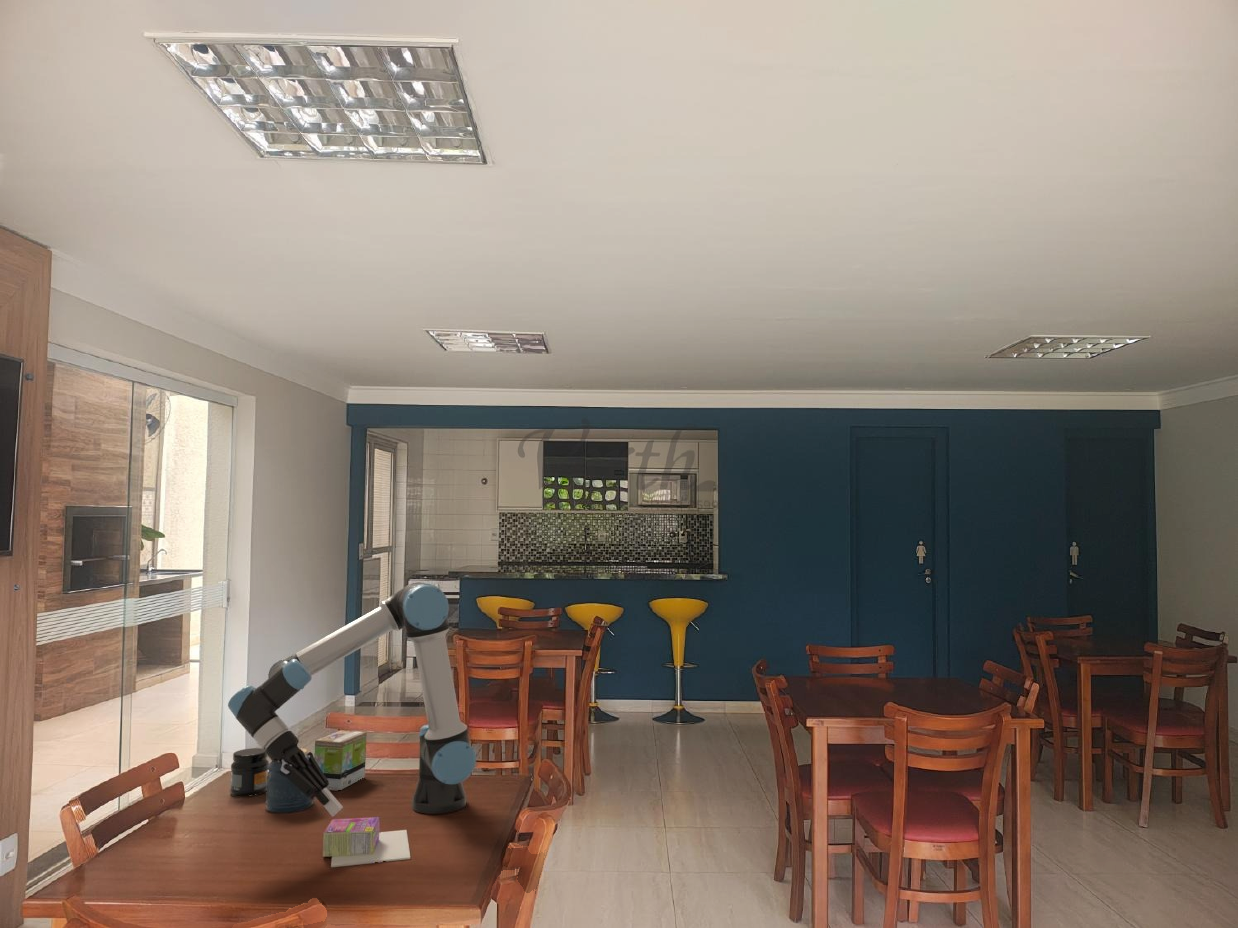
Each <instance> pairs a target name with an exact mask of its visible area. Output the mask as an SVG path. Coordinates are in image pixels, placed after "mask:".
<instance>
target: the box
mask: <svg viewBox="0 0 1238 928" xmlns="http://www.w3.org/2000/svg"><path fill="white" fill-rule="evenodd" d="M380 828H381V827H380V817H378V816H375V817H357V818H356V817H355V818H353V817H352V818H338V819H337V818H333V819H332V820H331V821H330V822H329V824H328V825H327V827H326V828H325V830H324V831H323V833H322V857H325V858H326V857H332V856H351V855H372V853H373V851H374V849H375V847H376V844H377V842H378V840H379V832H380Z"/></svg>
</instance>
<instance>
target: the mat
mask: <svg viewBox="0 0 1238 928" xmlns="http://www.w3.org/2000/svg"><path fill="white" fill-rule="evenodd" d="M410 851H411V850H410V845H409V837H408V831H407V829H401V830H391V831H390V830H389V831H381V832H380V831H379V840H378V842H377V844H376V847H375V849H374V851H373V853H372V855H351V856H331V862H330V864H331V865H330V867H331V868H340V867H349V866H357V865H358V866H359V865H367V864H375V862H378V863H384V862H383V861H386V862H394V861H402V860H403V861H404V860H405V861H406V860H411V852H410ZM386 862H385V863H386Z"/></svg>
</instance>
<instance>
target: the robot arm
mask: <svg viewBox="0 0 1238 928" xmlns="http://www.w3.org/2000/svg"><path fill="white" fill-rule="evenodd" d="M449 607H450V605H449V601H448V598H447V596H446V593H444V592H443V591H442V589H440V588H439V587H437V586H436V585H433V584H430V583H424V582H412V583H410V584H408V585H406V586H404V587H402V588H401V589H400V590H398V591H397V592H395V593H393V594H392V595H390V596H388V597H387V598H385V599H383V600H381V602H380V605H379V606H378V607H376V608H375V609H373V610H371V611H369V612H367V613H365V614H364V615H362V616H361V617H359V618H357V619H355V620H353V621H351V622H349V623H348V624H345V625H344V626H342V627H341V628H338V629H336V631H334V632H332V633H330V634H328V635H326V636H324V637H322V638H321V639H319V640H318V641H317V640H316V641H315V642H314V643H312V644H310V645H308V646H307V647H305V648H303V649H300V650H299V651H298V652H295V653H294V654H292V655H291V656H288V657H287V658H285V659H281V660H278V661H276V662H275V663H273V664H272V666H270V668H269V671H268V677H267V678H268V679H266V680H265V681H264V682H263V683H262V684H261V685H259V686H258V687H254V686H253V685H246V686H245V687H242V689H239V690H238V691H237V692H236V693H234V694H233V695H232V697H231V698H230V699H229V700H228V703H227V707H228V709H229V710H230V712H231V714H233V716H234V717H235V719H236V720H237V721H238V722H239V724H240V725H241V726H242V727H243V728H244V730H246V732H247V733H248V734H249V735H250V736H251V738H253V739H254V741H256V744H257V745H259V747H260V748H262V749H266V750H265V751H266V752H265V753H266V754H267V757H268V758H269V759H270V760H271V762H272V761H273V762H277V761H279V763H280V765H281V766H282V767H281V769H280V770H279V773H280V774H281V775H283V776H285V777H286V778H287V779H289V780H290V781H291V782H292V783H293V784H294V785H295V786H296V787H297V788H299V789H300V790H301V791H302V792H303V793H304V794H305V795H306V796H308V797H310V796H311V797H310V798H311V799H313V798H314V799H315V798H316V800H318V801H319V803H320V804H321V805H322V807H323V808H325V810H326V811H327V812H328V813H329V815H331V817H332V818H333V817H335V816H336V815H337V814H338V813H339V812H340V811H341V810H342V809H344V806H343V805H342V804H341V803H340V802H339V800H337V798H336V797H335V796H334V795H333V794H332V792H331V790H328V789H327V786H328V785H329V781H328V780H327V778H326V776H325V775H324V773H323V772H322V770H321V769H320V767H319V765H318V764H317V762H316V761H315V759H314V754H313V752H311V751H309V753H308V754H305V753H304V752H303V751H302V750H301V749H300V747H298V743H299V742H300V741H299V738H298V737H297V736H296V735H295V733H293V731H292V730H289V726H288V725H287V724H286V723H285V721H284V720H282V719H281V718H280V716H279V715H278V714H277V712H276V711H277V710H279V709H280V708H281V707H282V706H283V705H284V704H285V703H287V702H288V701H289V700H290V699H291V698H293V697H295V696H296V694H297V693H299V692H300V691H301V690H303V689H304V688H305V687H306V686H307V685H308V684H309V683H310V682H311V681H312V676H314V675H315V674H317V673H319V672H320V671H323V670H324V669H326V668H328V667H330V666H331V665H333V664H335V663H336V662H338V661H340V660H342V659H344V658H346V657H348V656H349V655H351V654H353V653H355V652H356V651H358V650H360V649H362V648H363V647H365V646H367V645H369V644H370V643H372V642H374V641H375V640H378V639H379V638H381V637H383V636H384V635H386V634H388V633H389V632H391V631H397V632H399V631H401V630H402V629H404V630H405V635H406V639H407V640H409V641H410V642H412V643H413V646H414V647H413V648H414V653H415V657H416V658H415V659H416V663H417V664H416V665H417V670H418V675H419V681H420V686H421V692H422V697H423V704H424V708H425V709H424V710H425V714H426V720H427V724H424V725H423V726H421V728H420V729H419V730H420V731H419V736H418V739H419V759H418V760H419V763H418V764H419V766H418V768H419V769H418V772H419V773H418V781H417V784H416V788H415V790H414V794H413V797H412V803H411V804H412V805H411V807H412V808H411V809H412V810H413V811H415V812H417V813H421V814H425V815H426V814H427V815H428V814H430V815H434V814H435V815H440V814H446V813H447V814H448V813H453V812H456V811H460V810H462V809H463V808H464V807H466V805H467V795H466V792H465V788H464V784H463V782H464V781H466V780H467V779H468V778H469V777H470V776H471V775H472V773H473V772H474V770H475V767H476V764H477V755H476V752H475V750H474V747H473V746H472V745H471V741H470V736H469V730H468V725H467V724H465V723H463V722H462V721H461V717H460V712H459V707H458V702H457V701H458V700H457V696H456V690H455V689H456V688H455V684H454V678H453V671H452V667H451V661H450V656H449V655H450V654H449V650H448V645H447V639H446V635H447V633H448V631H449V630H450V624H449V617H448V614H449V610H450V608H449Z"/></svg>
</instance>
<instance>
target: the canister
mask: <svg viewBox="0 0 1238 928" xmlns="http://www.w3.org/2000/svg"><path fill="white" fill-rule="evenodd" d="M299 748H300V747H299ZM300 749H301V750H302V751H303V752H304V753H305V754H308V753H309V752H310V751H309V750H308V749H306V748H300ZM281 767H282V766H281V765H280V763H279V761H277V762H273V761H272V760H271V762H269V764H268V765H267V769H268V777H267V790H266V799H265V806H266V811H268V812H270V813H275V814H276V813H277V814H284V813H295V812H299V811H304V810H307V809H309V808H310V807H312V806H313V805H314V800H315V797H314V798H313V799H311V798H310V797H311V796H310V797H308V796H306V795H305V794H304V793H303V792H302V791H301V790H300V789H299V788H297V787H296V786H295V785H294V784H293V783H292V782H291V781H290V780H289V779H287V778H286V777H285V776H283V775H281V774H280V773H279V770H280V769H281Z"/></svg>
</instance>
